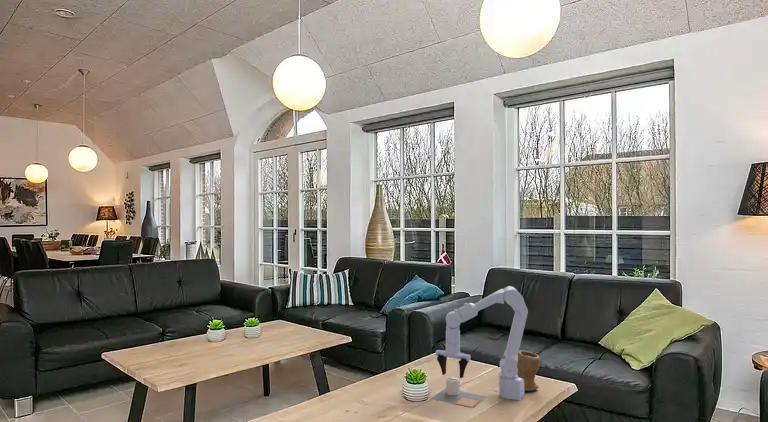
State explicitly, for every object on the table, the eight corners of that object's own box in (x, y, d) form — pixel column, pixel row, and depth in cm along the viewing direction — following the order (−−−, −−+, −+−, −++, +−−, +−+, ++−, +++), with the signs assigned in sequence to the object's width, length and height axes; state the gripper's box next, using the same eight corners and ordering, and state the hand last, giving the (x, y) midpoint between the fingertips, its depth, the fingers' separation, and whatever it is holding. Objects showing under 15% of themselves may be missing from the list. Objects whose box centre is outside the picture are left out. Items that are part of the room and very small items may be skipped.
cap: (461, 392, 207) (461, 378, 207) (456, 396, 202) (456, 381, 202) (449, 390, 209) (449, 376, 209) (444, 393, 205) (444, 379, 205)
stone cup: (546, 390, 212) (546, 354, 212) (521, 394, 208) (521, 357, 208) (524, 379, 226) (524, 345, 226) (501, 382, 222) (501, 348, 222)
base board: (486, 399, 202) (486, 396, 202) (473, 411, 190) (473, 408, 190) (445, 391, 211) (445, 388, 211) (430, 401, 199) (430, 398, 199)
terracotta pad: (479, 401, 196) (479, 401, 196) (472, 407, 190) (472, 406, 190) (462, 398, 200) (462, 397, 200) (455, 404, 194) (455, 403, 194)
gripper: (432, 341, 206) (432, 375, 206) (465, 346, 199) (465, 381, 199) (439, 338, 212) (439, 370, 212) (472, 342, 205) (472, 376, 205)
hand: (452, 375), depth 206 cm, fingers open, 7 cm apart
